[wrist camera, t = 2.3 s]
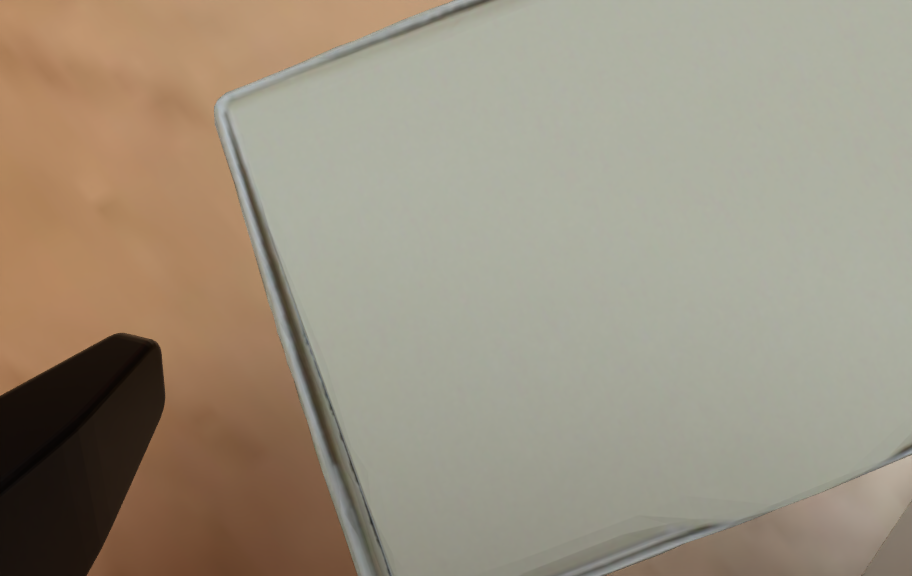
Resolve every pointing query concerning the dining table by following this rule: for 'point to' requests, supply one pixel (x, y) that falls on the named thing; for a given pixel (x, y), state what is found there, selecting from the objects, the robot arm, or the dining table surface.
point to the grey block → (895, 550)
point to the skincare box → (587, 270)
